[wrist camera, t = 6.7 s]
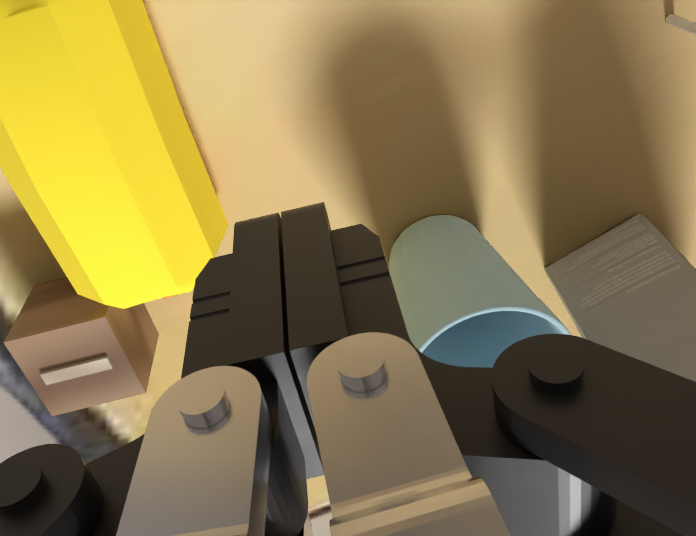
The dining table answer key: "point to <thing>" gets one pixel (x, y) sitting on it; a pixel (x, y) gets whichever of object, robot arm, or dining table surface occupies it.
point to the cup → (462, 294)
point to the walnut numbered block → (81, 348)
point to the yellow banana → (103, 149)
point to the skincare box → (633, 295)
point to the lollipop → (681, 23)
